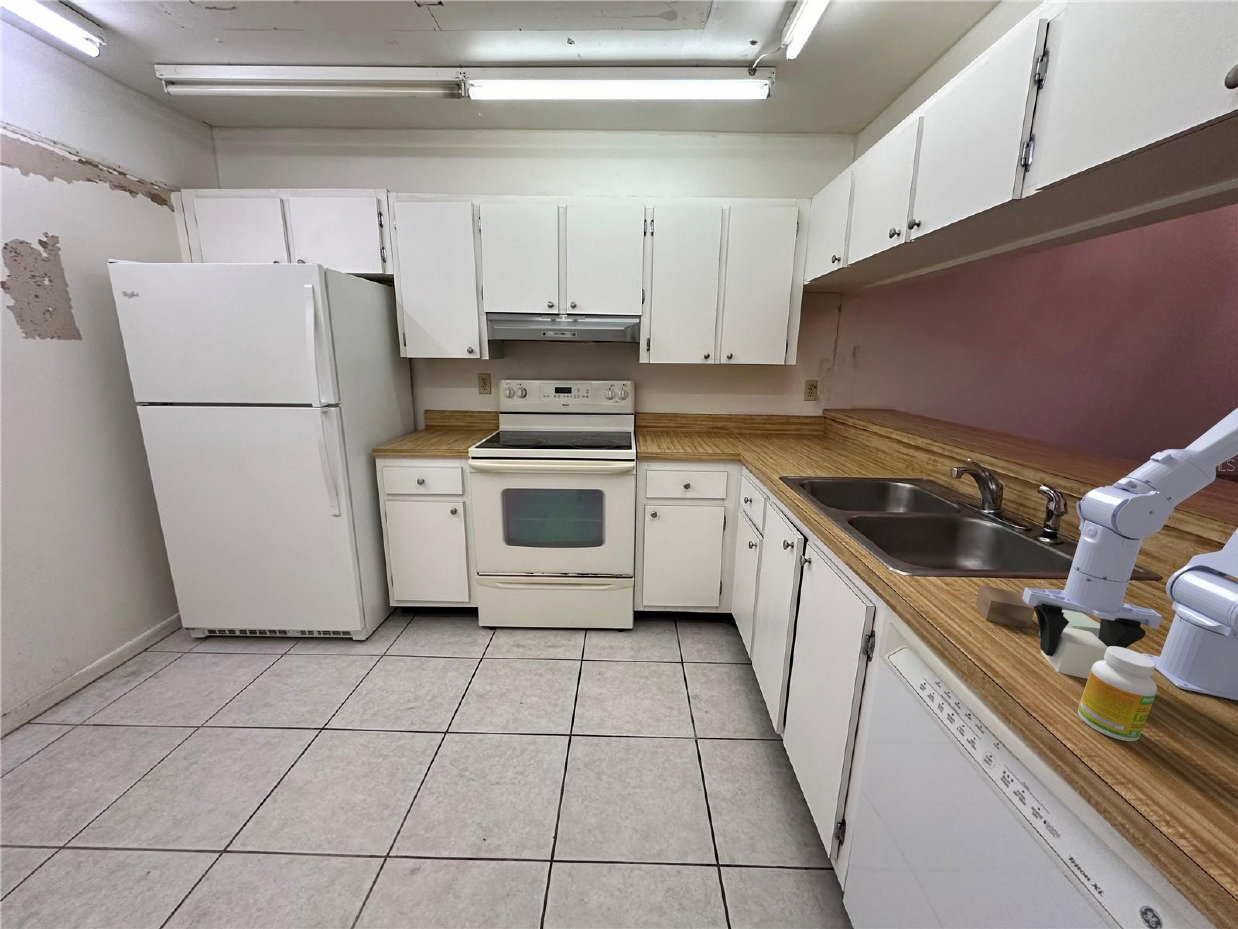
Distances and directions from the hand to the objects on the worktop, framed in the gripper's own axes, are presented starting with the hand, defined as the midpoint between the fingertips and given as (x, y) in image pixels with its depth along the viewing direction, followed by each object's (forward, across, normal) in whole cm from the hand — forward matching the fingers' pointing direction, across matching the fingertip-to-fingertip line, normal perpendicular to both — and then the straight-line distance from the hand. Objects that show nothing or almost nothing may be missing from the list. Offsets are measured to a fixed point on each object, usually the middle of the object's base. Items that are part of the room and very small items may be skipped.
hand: (1072, 657), depth 68 cm
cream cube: (+2, 0, 0) cm, 2 cm away
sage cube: (+2, +2, +6) cm, 7 cm away
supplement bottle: (+2, -2, -13) cm, 13 cm away
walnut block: (+2, -4, +13) cm, 14 cm away
